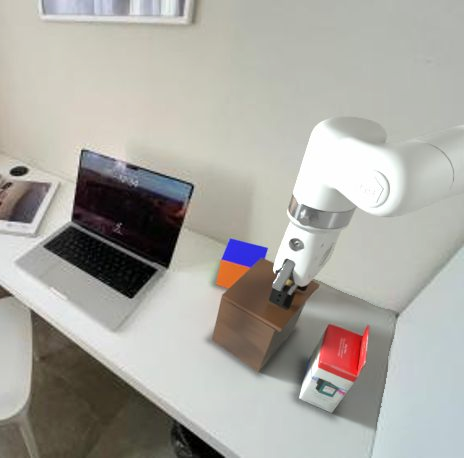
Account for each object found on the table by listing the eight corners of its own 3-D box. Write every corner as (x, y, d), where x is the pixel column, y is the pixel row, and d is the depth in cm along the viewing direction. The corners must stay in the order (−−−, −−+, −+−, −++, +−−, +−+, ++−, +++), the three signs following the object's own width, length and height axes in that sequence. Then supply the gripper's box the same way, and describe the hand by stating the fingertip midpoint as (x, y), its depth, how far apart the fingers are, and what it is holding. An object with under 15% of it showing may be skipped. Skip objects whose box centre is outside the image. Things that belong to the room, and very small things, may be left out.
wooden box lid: (318, 287, 63) (327, 266, 60) (280, 332, 57) (288, 311, 54) (260, 260, 70) (266, 240, 67) (221, 297, 64) (225, 277, 61)
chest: (293, 329, 72) (313, 285, 64) (258, 372, 66) (275, 329, 58) (247, 303, 78) (260, 260, 70) (211, 340, 72) (221, 297, 64)
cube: (260, 273, 84) (268, 247, 80) (253, 296, 79) (261, 270, 75) (224, 263, 88) (230, 238, 83) (216, 284, 83) (221, 259, 78)
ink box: (306, 361, 66) (333, 310, 57) (338, 374, 64) (372, 323, 55) (298, 399, 61) (326, 350, 52) (332, 415, 59) (368, 366, 50)
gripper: (322, 248, 44) (285, 338, 55) (375, 192, 52) (333, 280, 63) (262, 224, 49) (239, 310, 60) (318, 176, 57) (288, 260, 68)
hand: (287, 294), depth 61 cm, fingers closed on wooden box lid, 5 cm apart
